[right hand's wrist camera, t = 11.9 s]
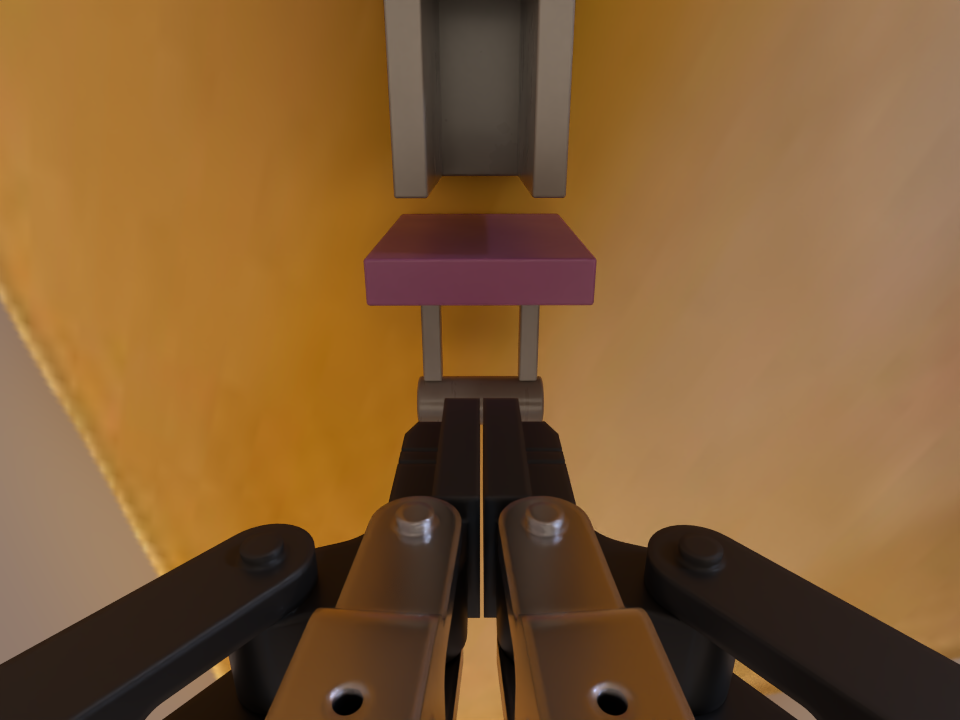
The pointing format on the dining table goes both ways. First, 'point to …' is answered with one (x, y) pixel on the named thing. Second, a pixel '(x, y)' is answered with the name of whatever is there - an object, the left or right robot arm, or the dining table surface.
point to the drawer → (479, 152)
